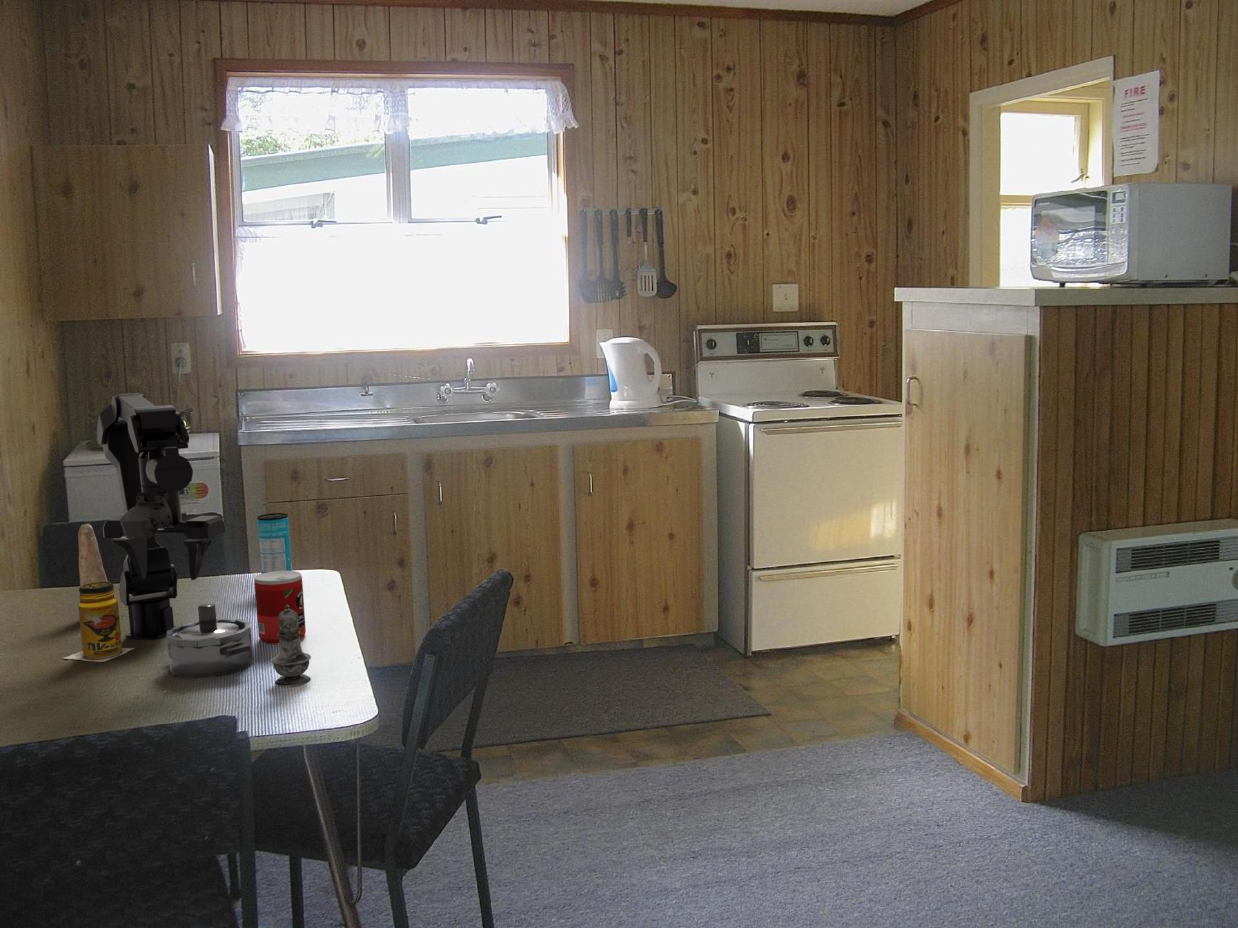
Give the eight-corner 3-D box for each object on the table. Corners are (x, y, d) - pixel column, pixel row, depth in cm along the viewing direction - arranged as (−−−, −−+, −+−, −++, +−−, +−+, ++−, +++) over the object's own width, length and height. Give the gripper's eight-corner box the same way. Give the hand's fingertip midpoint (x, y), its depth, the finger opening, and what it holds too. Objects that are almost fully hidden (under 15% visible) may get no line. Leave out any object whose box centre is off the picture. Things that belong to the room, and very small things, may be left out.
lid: (166, 642, 192) (163, 612, 191) (199, 626, 200) (197, 597, 200) (218, 644, 189) (216, 614, 189) (250, 628, 198) (248, 599, 198)
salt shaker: (276, 676, 189) (270, 600, 187) (315, 674, 189) (310, 598, 188) (269, 688, 183) (263, 610, 181) (309, 686, 184) (303, 608, 182)
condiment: (105, 662, 200) (98, 590, 198) (62, 659, 202) (55, 588, 201) (135, 649, 207) (128, 580, 205) (93, 646, 209) (87, 578, 207)
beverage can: (299, 587, 247) (294, 514, 245) (277, 594, 242) (271, 519, 240) (278, 584, 250) (273, 512, 248) (256, 591, 245) (250, 517, 243)
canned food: (294, 645, 206) (289, 581, 204) (250, 644, 207) (245, 580, 206) (314, 632, 213) (309, 570, 212) (271, 631, 215) (267, 570, 213)
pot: (147, 665, 197) (144, 629, 196) (218, 646, 206) (216, 612, 205) (204, 686, 185) (201, 647, 184) (277, 665, 194) (274, 628, 194)
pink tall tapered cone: (114, 614, 233) (80, 622, 229) (98, 521, 232) (63, 527, 229) (122, 616, 228) (88, 623, 224) (106, 520, 227) (71, 526, 224)
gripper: (76, 492, 192) (86, 590, 194) (184, 492, 188) (193, 592, 190) (119, 481, 202) (128, 573, 205) (222, 481, 198) (230, 575, 201)
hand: (168, 579), depth 200 cm, fingers open, 9 cm apart
